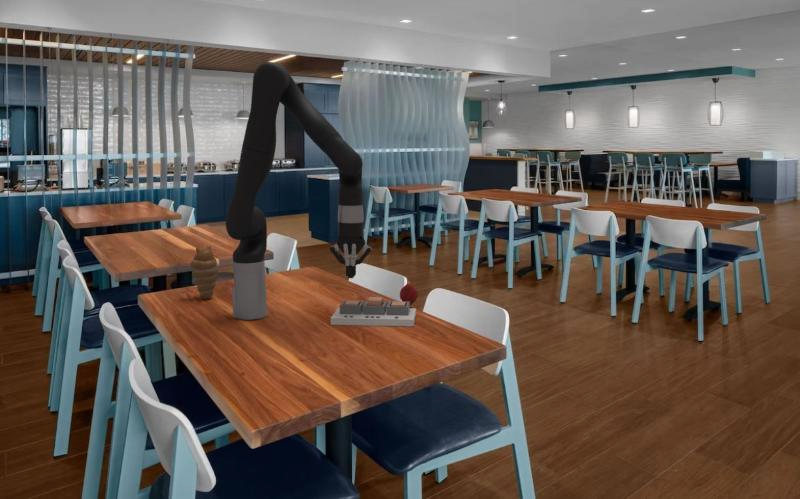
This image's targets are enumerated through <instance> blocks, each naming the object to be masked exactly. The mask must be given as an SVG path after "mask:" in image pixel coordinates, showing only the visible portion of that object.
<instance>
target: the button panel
mask: <svg viewBox="0 0 800 499" xmlns="http://www.w3.org/2000/svg"><path fill="white" fill-rule="evenodd" d="M346 301H355V300H347V299H344V300H342V302H341V303H339V304H340V305H339V306H338V307H337V309H336V310H335V311H334V313H333V314H332V316H331V317H330V325H331V326H340V325H341V326H367V327H368V326H374V327H412V326H415V322H416V318H415V317H417V308H414V307H413V308H411V305H410V302H408V301H401V300H400V301H398V300H397V301H394V300H388V301H387V300H383V304H382V306H368V301H367V300H359V301H360V304H359V306H358V305H344V304H345V302H346ZM392 302H406V306H391V304H392Z"/></svg>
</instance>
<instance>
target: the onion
mask: <svg viewBox="0 0 800 499" xmlns="http://www.w3.org/2000/svg"><path fill="white" fill-rule="evenodd" d="M418 296H419V294H418V290H417V288H416V287H415V286H414V285H413V284H412V282H411V281H407V282H406V284H405V285H404V286H402V288H401V289H400V291H399V299H400V301H408V302H410V306H412V305H414V303H415V302H416V301H417V299H418Z"/></svg>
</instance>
